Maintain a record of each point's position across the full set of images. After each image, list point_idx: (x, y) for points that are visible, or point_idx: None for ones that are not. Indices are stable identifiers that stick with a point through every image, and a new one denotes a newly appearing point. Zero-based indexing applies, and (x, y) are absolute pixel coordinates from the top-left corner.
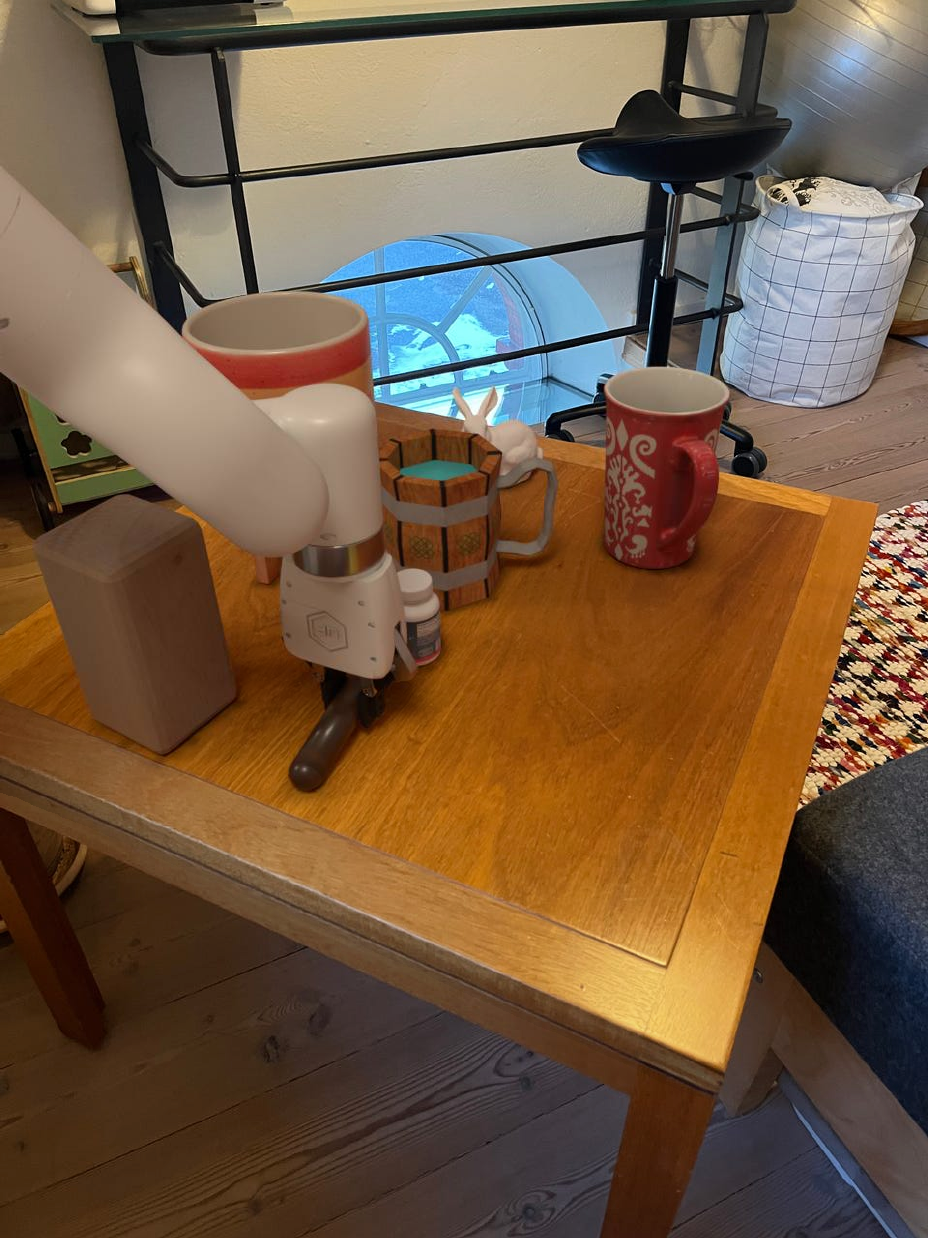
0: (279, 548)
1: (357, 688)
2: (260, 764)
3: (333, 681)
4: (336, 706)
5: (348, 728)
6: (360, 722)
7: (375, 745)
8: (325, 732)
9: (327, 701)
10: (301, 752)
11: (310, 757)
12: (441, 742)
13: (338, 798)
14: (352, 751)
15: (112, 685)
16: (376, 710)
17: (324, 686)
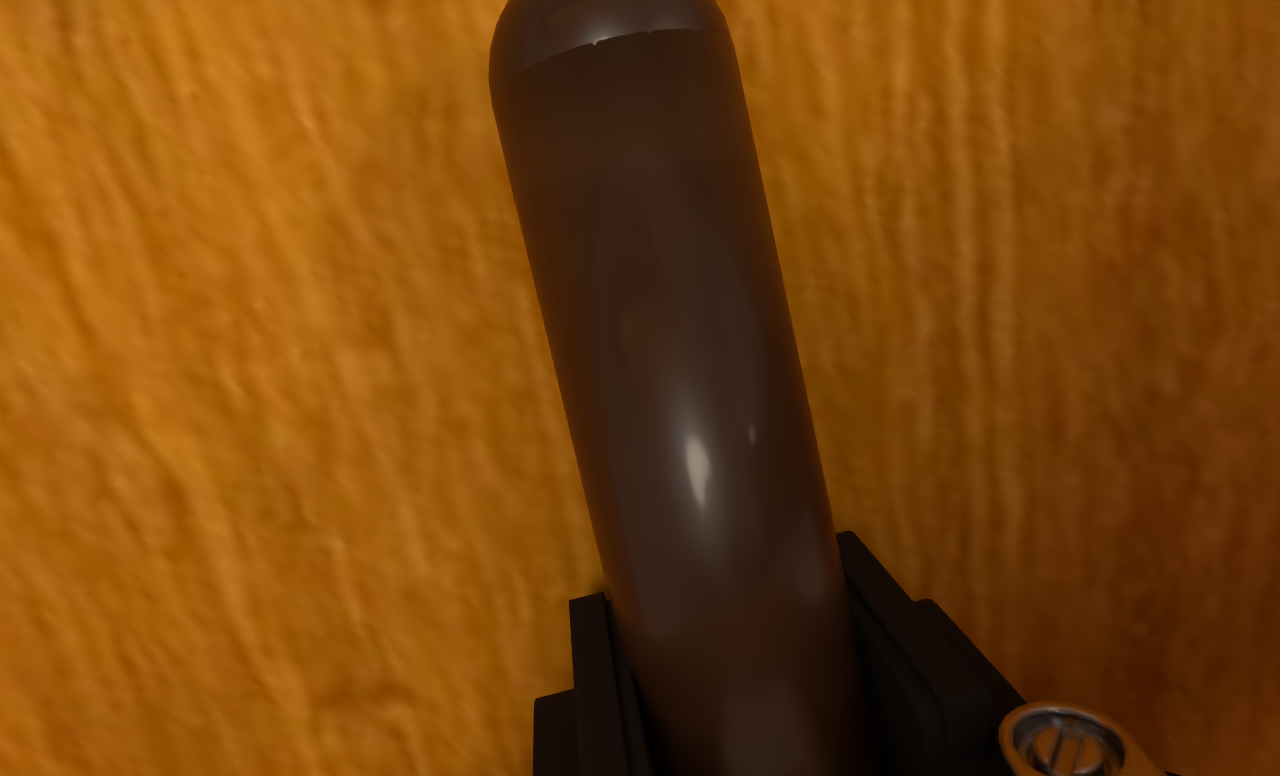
0: None
1: None
2: (952, 50)
3: (930, 771)
4: (760, 602)
5: (595, 516)
6: None
7: (508, 552)
8: (665, 366)
9: (876, 604)
10: (701, 117)
11: (598, 111)
12: (238, 770)
13: (372, 118)
14: None
15: None
16: (535, 744)
17: (958, 691)
